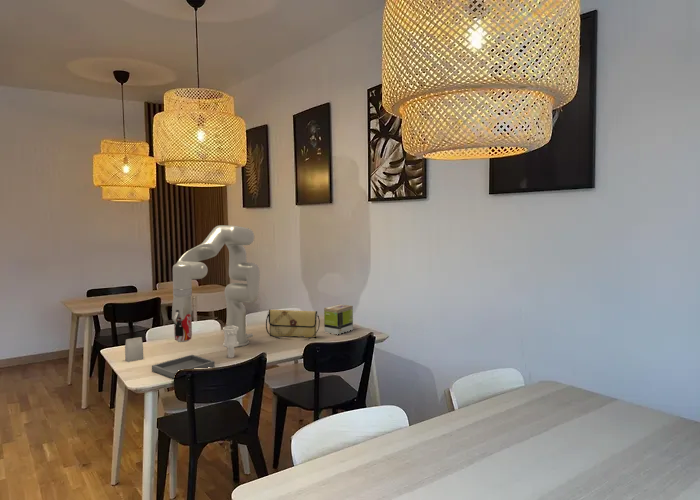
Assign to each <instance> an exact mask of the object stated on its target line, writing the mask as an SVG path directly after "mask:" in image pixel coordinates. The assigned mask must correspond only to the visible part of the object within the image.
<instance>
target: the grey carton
mask: <svg viewBox="0 0 700 500" xmlns="http://www.w3.org/2000/svg"><path fill="white" fill-rule="evenodd" d="M124 345H125V346H124V348H125V349H124V355H125V356H124V357H125V361H126V362H127V363H130V362H136V361H142V360H144V344H143V337H142V336H141V337H140V336H139V337H133V338H127V339H125V344H124Z"/></svg>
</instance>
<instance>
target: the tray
mask: <svg viewBox="0 0 700 500" xmlns="http://www.w3.org/2000/svg"><path fill="white" fill-rule="evenodd" d="M208 367H212V368H215V360H212V359H208V358H206V357H202V356H200V355H199V356H198V355H195V354H189V355H186V356H183V357H182V356H181V357H178V358H175V359H172V360H171V359H170V360H167V361H163V362H159V363H155V364H153V365H151V372H153V373H155V374H158V375H161V376H163V375H164V377H165V378H169V379H171V378H172V379H171V380H175V379H174V376H175V374H176V373H177V372H178V370H181V369H194V368H208Z"/></svg>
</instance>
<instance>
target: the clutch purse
mask: <svg viewBox="0 0 700 500" xmlns="http://www.w3.org/2000/svg"><path fill="white" fill-rule="evenodd" d="M266 314H267V315H266V319H265V330H266V332H267V334H268V335H269V336H270V337H273V338H276V339H280V337H285V336H305V337H304V338H308V337H311V338H308V340H311V339H312V337H316V338H317V333H318V332H319V329H320V324H321V320H320V316H319V314H318V311H316V310H295V309H293V310H290V309H289V310H288V309H269V310H268V311H267V312H266ZM317 320H318V327H317ZM268 324H269V330H268Z"/></svg>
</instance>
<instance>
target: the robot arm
mask: <svg viewBox="0 0 700 500" xmlns="http://www.w3.org/2000/svg"><path fill="white" fill-rule="evenodd" d="M254 239H255V233H254V231H253V230H252V229H250V228H249V227H243V226H238V225H216V226H215V227H213V228H212V230H211V231H210V232H209V234H208V235H207V237H205V239H204V240H203V242H201V243H200V244H198V245H196V246H195V247H192V248H191V249H188V250H187V251H186V252H184V253H183V254H182V255H181V256H180V258H179V259H178V260H177V262H176V263H175V264H173V266H172V297H173V299H172V305H171V306H172V308H171V310H172V311H171V319H172V321H173V325H174V324H175V336H183V327H182V324H183V320H184V319H185V317H186V314H188V313H189V312H190V315H191V316H192V313H193V305H192V296H193V294H192V292H193V289H192V286H193V285H192V283H193V282H192V280H200V279H203V278H205V277H206V276H207V274H208V271H209V270H208V266H207V265H206V264H205V263H204V262H201V261H205V260H208V259H212V258H214V257H216V256H217V255H218V254H219V252H220V251H221V250H222V248H223V247H224V246H226V247H227V249H228V252H229V258H228V259H229V261H228V276H229V277H228V278H230V280H233V281H240V282H241V281H242V282H241V283H240V282H233V283H232V282H231V283H228V284H227V285H226V286H225V288H224V298H225V304H226V327H227V326H233V325H234V326H237V327H238V331H237V342H239V345H238V346H236V347H237V348H238V347H239V348H240V347H244V346H247V345H249V343H250V341H249V340H248V339H250V338H253V336H254V334H253V332H252V333H247V328H246V327H247V325H246V322H247V321H246V320H247V319H246V318H247V314H246V313H247V311H246V306H245V305H244V303H249V304H251V303H252V304H253V303H255V302H256V301H258V298H259V295H260V279H261V277H260V276H261V274H260V273H261V271H260V267H259V265H258V264H257V263H255V262H247V249H246V248H245V247H244V246H250V245H251V244H253V242H254V241H255V240H254ZM243 282H246V283H243ZM178 318H181V319H178ZM179 321H180V322H179ZM231 329H233V328H231ZM229 334H230V333H229ZM175 336H174V337H175ZM236 347H235V348H236Z"/></svg>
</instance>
